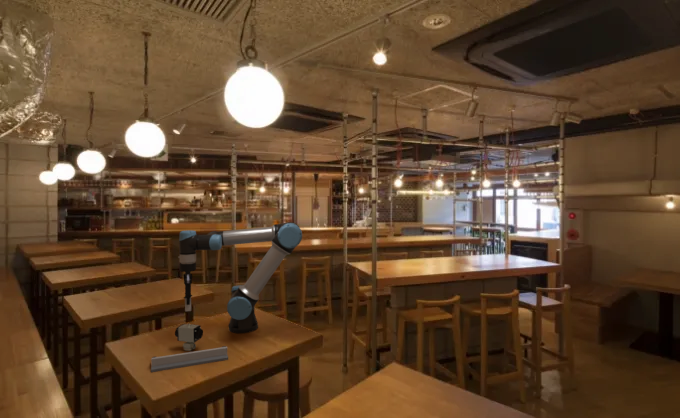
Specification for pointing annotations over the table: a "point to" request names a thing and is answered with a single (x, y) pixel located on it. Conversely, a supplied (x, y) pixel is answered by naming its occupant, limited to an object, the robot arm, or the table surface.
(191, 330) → the pneumatic valve
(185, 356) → the curved pull handle
